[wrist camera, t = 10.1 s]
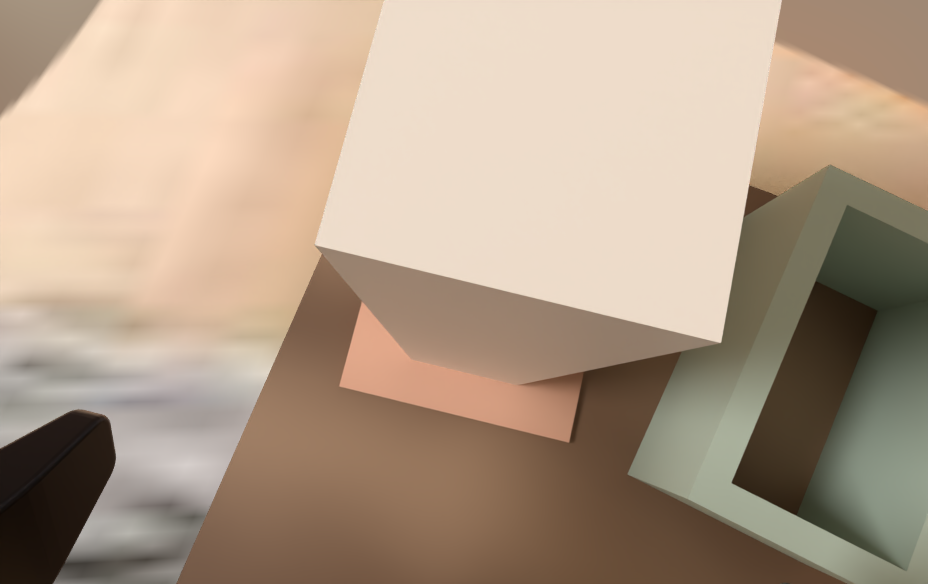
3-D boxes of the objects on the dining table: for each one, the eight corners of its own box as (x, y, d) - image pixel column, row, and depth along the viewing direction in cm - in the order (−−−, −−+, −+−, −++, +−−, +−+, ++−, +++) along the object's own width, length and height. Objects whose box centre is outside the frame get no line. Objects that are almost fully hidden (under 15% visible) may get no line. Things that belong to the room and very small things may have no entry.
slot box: (805, 564, 16) (926, 619, 12) (627, 474, 16) (687, 498, 12) (908, 299, 17) (1051, 270, 13) (740, 219, 17) (829, 164, 13)
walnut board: (826, 888, 16) (856, 926, 14) (174, 614, 16) (153, 631, 15) (984, 293, 18) (1021, 286, 17) (411, 73, 18) (409, 52, 17)
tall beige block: (517, 385, 16) (720, 343, 4) (411, 359, 16) (315, 245, 4) (561, 189, 17) (836, -312, 5) (460, 165, 17) (496, -392, 5)
